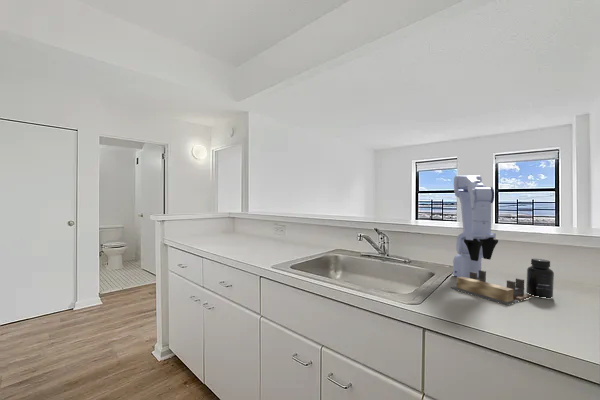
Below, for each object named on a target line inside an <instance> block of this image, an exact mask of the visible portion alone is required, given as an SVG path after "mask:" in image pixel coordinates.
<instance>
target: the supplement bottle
mask: <svg viewBox="0 0 600 400" xmlns="http://www.w3.org/2000/svg"><path fill="white" fill-rule="evenodd" d="M530 261H531V262H530V266H528V267H527V268H526V288H525V289H526V290H525V292H527V293H529V294H531V295H534V296H539V297H546V298H551V297H554V278H555V273H554V271H553V270H552V269H551V268H550V267H551V261H550V260H548V259H542V258H531V259H530ZM527 293H526V294H527Z"/></svg>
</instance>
